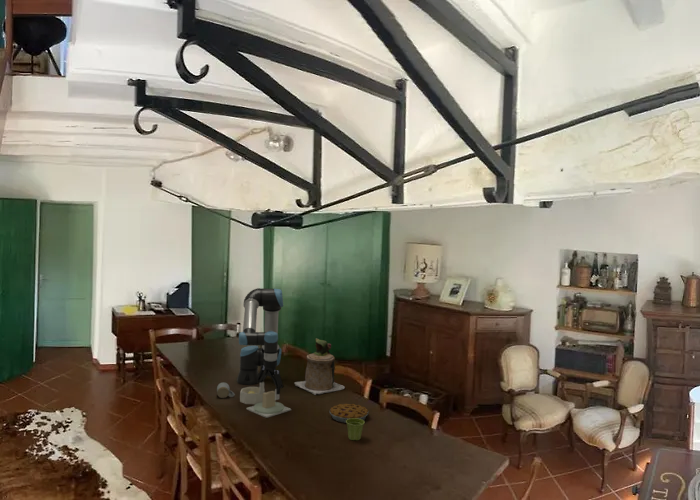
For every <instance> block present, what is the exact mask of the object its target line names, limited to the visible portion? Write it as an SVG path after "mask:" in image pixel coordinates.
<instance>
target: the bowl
mask: <svg viewBox="0 0 700 500" xmlns="http://www.w3.org/2000/svg"><path fill="white" fill-rule="evenodd" d="M259 390H260V387H259V386H247V387H243V388H241V389H240V391H239V402H240V403H243V404H244V405H255V404H257V403H260V402H262V401H263V394H259ZM265 392H266V391H265V388H264V393H265Z"/></svg>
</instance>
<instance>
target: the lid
mask: <svg viewBox="0 0 700 500" xmlns="http://www.w3.org/2000/svg"><path fill="white" fill-rule="evenodd" d="M253 406H254V410H255V411H256V412H259V413H264V414H272V413H278V412H281V411H282V410H283V409H284V406H285V405H284V404H283V403H281V402H278V401H276V400H275V390H269V391H265V393H263V401H262V402H260V403H257V404H253Z"/></svg>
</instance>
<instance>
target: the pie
mask: <svg viewBox="0 0 700 500" xmlns="http://www.w3.org/2000/svg"><path fill="white" fill-rule="evenodd" d="M329 414H330V415H331V417H332V418H331V419H333V420H335V421H336V422H340V423H344V424H345V423H346V420H347V419H351V418H357V419H361V420H363V421H365V419H366V418H367V416H368V415H369V410H368V409H367V407H365V406H362V405H360V404H355V403H352V404H351V403H350V404H349V403H338V404H337V405H333V407H332V406H331V408H330V409H329ZM346 424H347V423H346Z"/></svg>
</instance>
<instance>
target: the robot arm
mask: <svg viewBox="0 0 700 500" xmlns="http://www.w3.org/2000/svg"><path fill="white" fill-rule="evenodd" d="M283 297H284V296H283V290H282V289H280V288H275V287H274V288H262V287H260V288H259V287H257V288H253V289H252V290H250V292H248V293H247V294H246V295H245V297H244V299H243V305H242V306H243V307H244V312H243V313H244V315H243V326H242V331H241V332H239V333H238V344H239V345H240V346H245V347H242V348H241V349H240V353H239V356H240V359H239V361H240V362H239V372H238V375H237V378H236V383H238V384H239V385H243V386H244V385H245V386H246V385H247V386H250V385H251V386H252V385H257V384H258V387H260V390H259V394H263V393H264V389H265V380H266V378H267V377H270V378H271V379H272V382H273V384H274V386H275V389H274V391H275V401H278V400H280V394H281V389H282V388H283V389H284V385H283V381H282V377H281V374H280V373H281V372H280V369H278V370H276V368H277V367H278V366H279V365H280V363H281V358H282V348H281V347H280V345H279V344H278V341H279V334H278V333H279V312H280V311H281V310H282V308H283V307H284V299H283ZM259 307H260V308H261V307H262V309H263V311H264V312H265V313H264V332H263V331H260V332H258V331H257V315H258V308H259ZM259 346H261V348H259ZM259 367H260V370H259Z"/></svg>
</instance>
